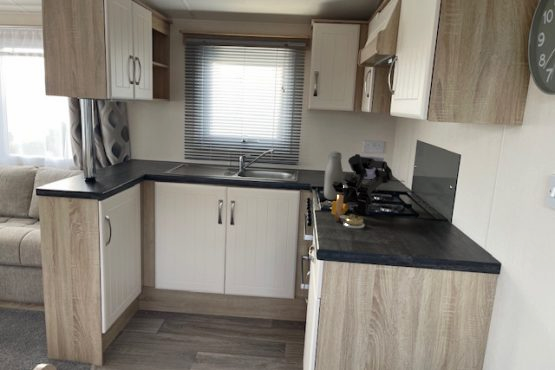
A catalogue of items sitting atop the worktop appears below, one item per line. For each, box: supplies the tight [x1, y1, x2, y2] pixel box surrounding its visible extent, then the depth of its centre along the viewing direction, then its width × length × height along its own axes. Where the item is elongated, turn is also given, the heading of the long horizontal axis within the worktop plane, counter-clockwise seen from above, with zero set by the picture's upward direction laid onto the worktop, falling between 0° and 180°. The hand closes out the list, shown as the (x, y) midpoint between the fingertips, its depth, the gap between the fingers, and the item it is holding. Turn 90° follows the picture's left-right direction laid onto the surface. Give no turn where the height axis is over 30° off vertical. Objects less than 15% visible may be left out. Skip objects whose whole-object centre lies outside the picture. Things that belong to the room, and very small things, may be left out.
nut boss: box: [342, 220, 366, 230], centre depth 180 cm, size 10×10×1 cm
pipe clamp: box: [330, 200, 349, 216], centre depth 202 cm, size 12×4×6 cm, turn 142°
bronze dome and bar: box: [334, 193, 365, 226], centre depth 181 cm, size 14×8×12 cm, turn 51°
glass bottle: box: [323, 150, 344, 201], centre depth 227 cm, size 10×10×28 cm
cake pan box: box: [360, 155, 385, 180], centre depth 306 cm, size 19×5×18 cm, turn 84°
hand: (344, 203), depth 187 cm, fingers closed
